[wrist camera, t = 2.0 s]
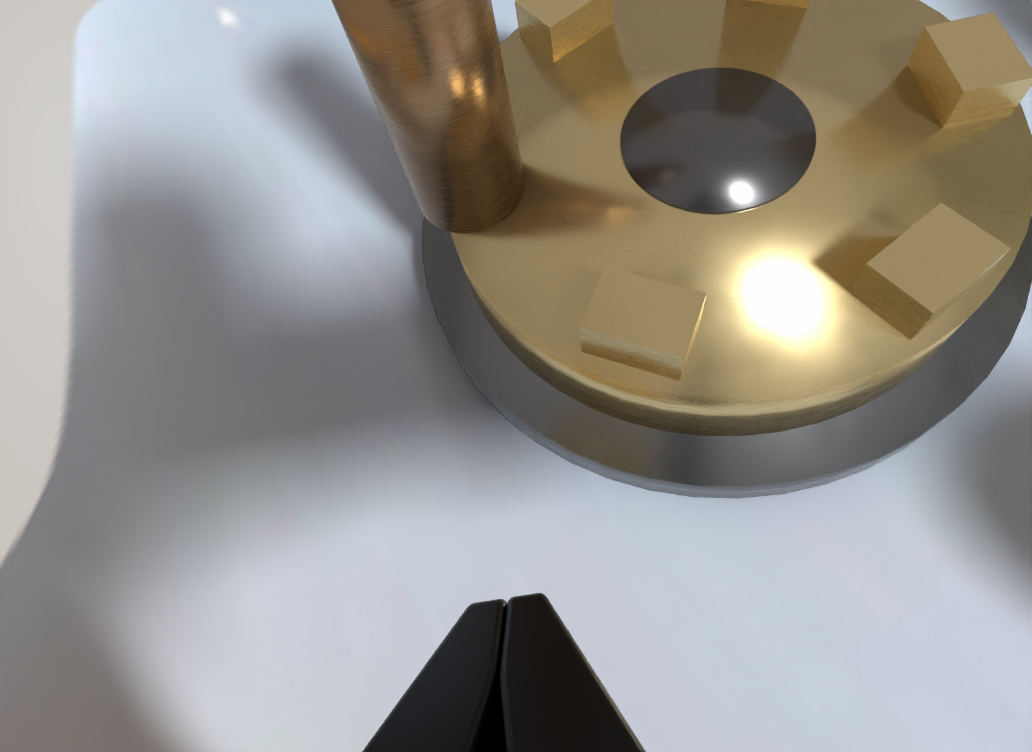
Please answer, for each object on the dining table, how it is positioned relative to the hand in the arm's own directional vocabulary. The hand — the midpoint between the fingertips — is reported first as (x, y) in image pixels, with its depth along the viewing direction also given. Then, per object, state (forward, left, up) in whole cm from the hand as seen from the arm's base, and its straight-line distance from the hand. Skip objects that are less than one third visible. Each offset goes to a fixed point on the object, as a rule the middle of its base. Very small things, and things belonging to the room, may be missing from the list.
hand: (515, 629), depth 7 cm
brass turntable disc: (+15, +5, -12) cm, 20 cm away
